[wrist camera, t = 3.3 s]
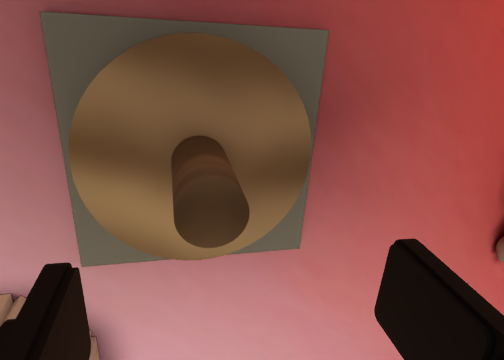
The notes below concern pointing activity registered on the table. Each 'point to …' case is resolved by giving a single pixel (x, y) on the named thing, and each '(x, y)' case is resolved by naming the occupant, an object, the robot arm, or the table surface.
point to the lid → (190, 146)
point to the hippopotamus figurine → (500, 249)
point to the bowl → (5, 309)
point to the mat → (142, 29)
